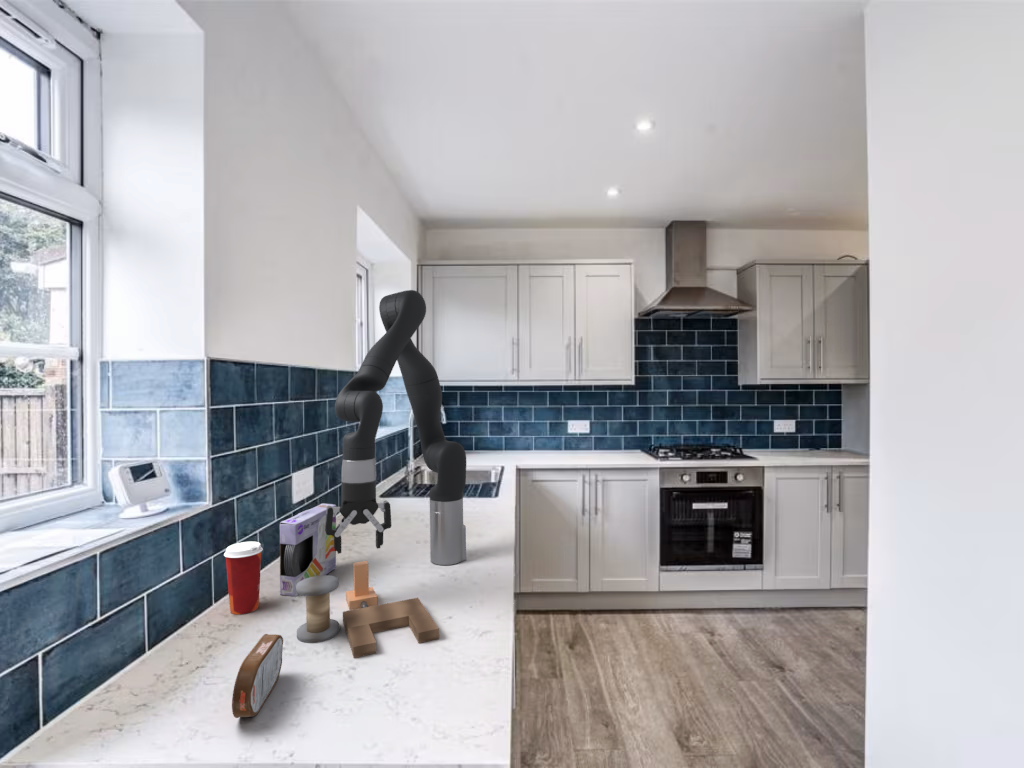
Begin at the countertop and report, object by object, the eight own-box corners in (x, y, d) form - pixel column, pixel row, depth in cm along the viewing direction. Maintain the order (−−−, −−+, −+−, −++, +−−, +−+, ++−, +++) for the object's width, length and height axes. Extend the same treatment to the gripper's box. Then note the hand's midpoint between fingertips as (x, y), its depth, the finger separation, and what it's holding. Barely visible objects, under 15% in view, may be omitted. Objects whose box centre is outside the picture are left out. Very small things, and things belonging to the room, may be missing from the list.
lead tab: (372, 595, 122) (372, 557, 122) (380, 612, 113) (380, 571, 113) (345, 600, 120) (345, 561, 119) (352, 618, 110) (351, 575, 110)
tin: (267, 673, 90) (267, 624, 90) (286, 671, 90) (286, 623, 90) (229, 731, 75) (228, 673, 75) (252, 730, 75) (251, 672, 75)
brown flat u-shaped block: (418, 606, 115) (417, 597, 115) (439, 638, 101) (438, 628, 101) (342, 621, 109) (342, 611, 109) (353, 658, 94) (353, 647, 94)
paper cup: (271, 604, 118) (270, 542, 118) (243, 619, 110) (242, 553, 110) (244, 599, 120) (243, 539, 120) (215, 613, 113) (214, 549, 113)
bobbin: (337, 620, 109) (336, 572, 109) (341, 637, 102) (341, 586, 102) (296, 628, 106) (295, 579, 106) (297, 646, 99) (296, 593, 99)
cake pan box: (294, 599, 120) (293, 522, 120) (275, 597, 121) (274, 522, 121) (338, 569, 139) (337, 503, 139) (321, 568, 140) (320, 502, 140)
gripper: (387, 473, 124) (387, 541, 124) (324, 478, 119) (324, 549, 118) (393, 479, 118) (393, 550, 117) (327, 483, 112) (327, 559, 112)
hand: (358, 550), depth 118 cm, fingers open, 8 cm apart
